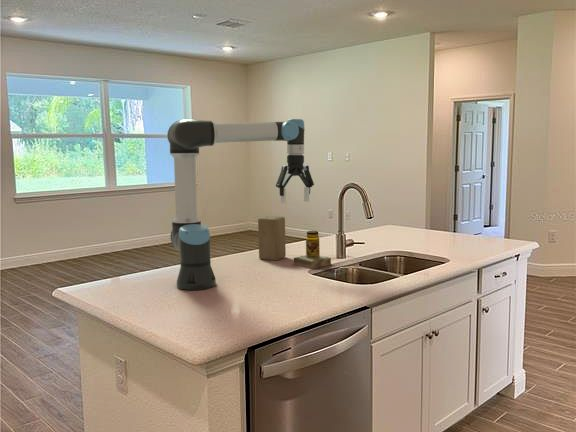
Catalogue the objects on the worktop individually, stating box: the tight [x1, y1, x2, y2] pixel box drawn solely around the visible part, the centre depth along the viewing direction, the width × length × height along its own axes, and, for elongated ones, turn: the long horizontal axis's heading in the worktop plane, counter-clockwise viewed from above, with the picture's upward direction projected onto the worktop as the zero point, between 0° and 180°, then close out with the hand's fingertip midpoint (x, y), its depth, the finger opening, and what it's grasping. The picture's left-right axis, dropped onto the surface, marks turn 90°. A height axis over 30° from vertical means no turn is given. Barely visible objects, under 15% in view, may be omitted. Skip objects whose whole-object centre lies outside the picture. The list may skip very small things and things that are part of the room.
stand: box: [293, 255, 332, 270], centre depth 234 cm, size 12×12×3 cm
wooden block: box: [257, 215, 286, 262], centre depth 247 cm, size 10×10×20 cm
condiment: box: [301, 230, 325, 259], centre depth 233 cm, size 7×8×12 cm
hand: (295, 202), depth 230 cm, fingers open, 13 cm apart
